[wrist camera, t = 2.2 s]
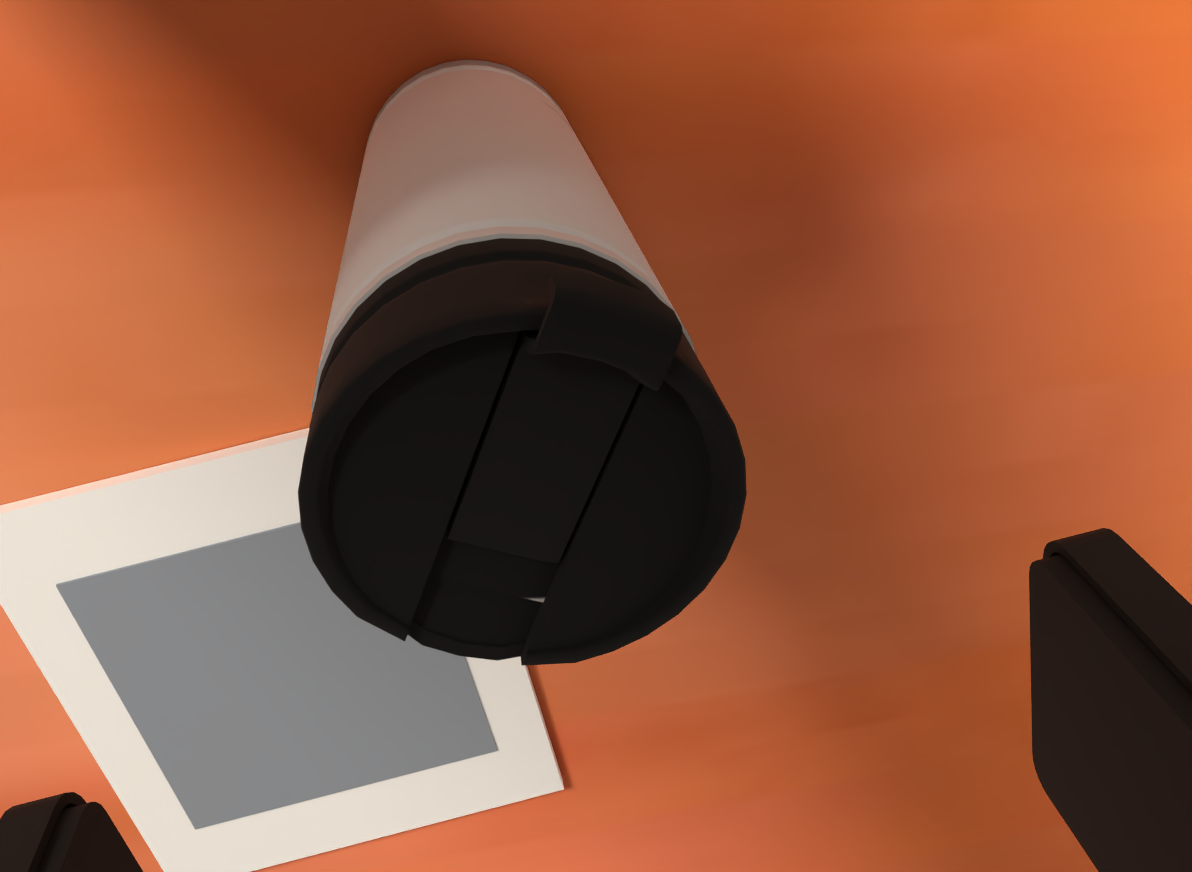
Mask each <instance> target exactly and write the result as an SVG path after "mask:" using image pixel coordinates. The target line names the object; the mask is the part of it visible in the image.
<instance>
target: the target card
mask: <svg viewBox="0 0 1192 872" xmlns="http://www.w3.org/2000/svg"><path fill="white" fill-rule="evenodd" d="M308 433H309V428H306V429H302V430H298V431H294V432H290V433H286V434H282V435H278V436H274V437H270V438H266V439H262V440H258V441H254V442H250V443H246V444H242V445H238V446H234V447H230V448H226V449H222V450H218V451H214V452H210V453H206V454H202V455H198V456H195V457H191V458H187V459H183V460H179V461H175V462H171V463H167V464H163V465H159V466H155V467H151V468H147V469H143V470H139V471H135V472H131V473H127V474H123V475H119V476H115V477H111V478H107V479H103V480H99V481H95V482H91V483H87V484H84V485H80V486H76V487H72V488H68V489H64V490H60V491H56V492H52V493H48V494H44V495H40V496H36V497H32V498H28V499H24V500H20V501H16V502H12V503H8V504H4V505H0V604H1V606H2V607H3V609H4V611H5V612H6V614H7V616H8V617H9V619H10V620H11V622H12V624H13V625H14V627H15V629H16V630H17V632H18V634H19V635H20V637H21V638H22V640H23V642H24V643H25V645H26V647H27V648H28V650H29V652H30V653H31V655H32V656H33V658H34V660H35V661H36V663H37V665H38V666H39V668H40V670H41V671H42V673H43V674H44V676H45V678H46V679H47V681H48V683H49V684H50V686H51V688H52V689H53V691H54V693H55V694H56V696H57V697H58V699H59V701H60V702H61V704H62V706H63V707H64V709H65V711H66V712H67V714H68V715H69V717H70V719H71V720H72V722H73V724H74V725H75V727H76V729H77V730H78V732H79V733H80V735H81V737H82V738H83V740H84V742H85V743H86V745H87V747H88V748H89V750H90V751H91V753H92V755H93V756H94V758H95V760H96V761H97V763H98V765H99V766H100V768H101V769H102V771H103V773H104V774H105V776H106V778H107V779H108V781H109V783H110V784H111V786H112V788H113V789H114V791H115V792H116V794H117V796H118V797H119V799H120V801H121V802H122V804H123V806H124V807H125V809H126V810H127V812H128V814H129V815H130V817H131V819H132V820H133V822H134V824H135V825H136V827H137V828H138V830H139V832H140V833H141V835H142V837H143V838H144V840H145V842H146V843H147V845H148V846H149V848H150V850H151V851H152V853H153V855H154V856H155V858H156V860H157V861H158V863H159V864H160V866H161V868H162V869H163V871H164V872H251V871H254V870H258V869H262V868H266V867H270V866H274V865H277V864H281V863H285V862H289V861H293V860H296V859H300V858H304V857H308V856H312V855H316V854H319V853H323V852H327V851H331V850H335V849H338V848H342V847H346V846H350V845H354V844H358V843H361V842H365V841H369V840H373V839H377V838H380V837H384V836H388V835H392V834H396V833H400V832H403V831H407V830H411V829H415V828H419V827H422V826H426V825H430V824H434V823H438V822H442V821H445V820H449V819H453V818H457V817H461V816H464V815H468V814H472V813H476V812H480V811H484V810H487V809H491V808H495V807H499V806H503V805H506V804H510V803H514V802H518V801H522V800H526V799H529V798H533V797H537V796H541V795H545V794H548V793H552V792H556V791H560V790H564V785H563V779H562V775H561V772H560V769H559V766H558V763H557V759H556V756H555V753H554V750H553V747H552V744H551V740H550V737H549V734H548V731H547V728H546V725H545V721H544V718H543V715H542V712H541V709H540V706H539V702H538V699H537V696H536V693H535V690H534V687H533V683H532V680H531V677H530V674H529V671H528V667H527V665H521V656H520V657H515V658H509V659H504V660H498V661H496V660H488V659H480V658H472V657H464V656H458V655H454V654H451V653H447V652H444V651H440V650H437V649H433V648H430V647H426V646H423V645H421V644H420V643H418V642H417V641H416V640H414V639H413V638H412V637H410V636H409V635H407V637H406V640H405V641H403V640H401V639H399V638H397V637H395V636H393V635H391V634H389V633H387V632H385V631H383V630H381V629H379V628H378V627H376V626H374V625H372V624H370V623H368V622H366V621H364V620H362V619H360V618H358V617H357V616H356V615H355V614H354V613H353V612H352V611H351V610H350V609H349V608H348V607H347V606H346V605H345V604H344V603H343V602H342V601H341V600H340V599H339V598H338V597H337V596H336V595H335V594H334V593H333V592H332V591H331V589H330V588H329V586H328V585H327V583H326V581H325V580H324V578H323V577H322V575H321V574H320V572H319V570H318V569H317V567H316V566H315V564H314V562H313V561H312V558H311V555H310V552H309V549H308V546H307V544H306V541H305V538H304V535H303V532H302V529H301V523H300V511H299V500H298V488H299V482H300V476H301V469H302V463H303V457H304V452H305V447H306V443H307V438H308Z"/></svg>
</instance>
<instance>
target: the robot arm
mask: <svg viewBox="0 0 1192 872" xmlns="http://www.w3.org/2000/svg"><path fill="white" fill-rule="evenodd" d="M1029 590H1030V645H1031V700H1032V753H1033V761H1034V765H1035V769H1036V772H1037V775H1038V778H1039V780H1040V782H1041V784H1042V787H1043V788H1044V790H1045V792H1046V794H1047V795H1048V797H1049V798H1050V800H1051V801H1052V803H1053V804H1054V806H1055V807H1056V809H1057V810H1058V812H1059V813H1060V815H1061V816H1062V818H1063V819H1064V821H1065V822H1066V824H1067V825H1068V827H1069V828H1070V829H1071V831H1072V832H1073V834H1074V835H1075V837H1076V838H1077V840H1078V841H1079V843H1080V844H1081V846H1082V847H1083V849H1084V850H1085V852H1086V853H1087V855H1088V856H1089V858H1090V859H1091V861H1092V862H1093V864H1094V865H1095V867H1096V868H1097V870H1098V871H1099V872H1192V605H1191V604H1190V603H1189V602H1188V601H1187V600H1186V599H1185V598H1184V597H1183V596H1182V595H1180V594H1179V593H1178V592H1177V591H1176V590H1175V589H1174V588H1173V587H1172V586H1171V585H1170V584H1169V583H1168V582H1167V581H1166V580H1165V579H1164V578H1163V577H1162V576H1161V575H1160V574H1158V573H1157V572H1156V571H1155V570H1154V569H1153V568H1152V567H1151V566H1150V565H1149V564H1148V563H1147V562H1146V561H1145V560H1144V559H1143V558H1142V557H1141V556H1140V555H1139V554H1138V553H1136V552H1135V551H1134V550H1133V549H1132V548H1131V547H1130V546H1129V545H1128V544H1127V543H1126V542H1125V541H1124V540H1123V539H1122V538H1121V537H1120V536H1119V535H1117V534H1116V533H1115V532H1113V531H1112V530H1111V529H1106V528H1102V529H1098V530H1094V531H1090V532H1086V533H1082V534H1078V535H1074V536H1071V537H1067V538H1063V539H1059V540H1055V541H1051V542H1049V543H1048V544H1047V545H1046V547H1045V549H1044V554H1043V559H1041V560H1037V561H1034V562H1032V564H1031V566H1030V571H1029ZM0 872H143V871H142V869H141V867H140V866H139V864H138V863H137V861H136V859H135V858H134V856H133V854H132V853H131V851H130V849H129V848H128V846H127V845H126V843H125V841H124V840H123V838H122V836H121V835H120V833H119V832H118V830H117V828H116V827H115V825H114V823H113V822H112V820H111V818H110V817H109V815H108V814H107V812H106V810H105V809H104V808H103V807H102V805H101V804H99V803H97V802H90V803H86V802H85V800H84V799H83V798H82V797H81V796H80V795H78V794H76V793H74V792H70V793H63V794H60V795H56V796H52V797H48V798H44V799H40V800H36V801H32V802H28V803H24V804H20V805H16V806H13V807H11V808H10V809H8V810H7V811H5V813H4V814H3V816H2V817H1V819H0Z"/></svg>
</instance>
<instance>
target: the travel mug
mask: <svg viewBox="0 0 1192 872" xmlns="http://www.w3.org/2000/svg"><path fill="white" fill-rule="evenodd" d="M745 499H746V470H745V457H744V454H743V451H742V447H741V444H740V440H739V437H738V434H737V430H736V427H735V424H734V422H733V421H732V419H731V417H730V415H729V414H728V412H727V410H726V408H725V406H724V405H723V403H722V401H721V399H720V397H719V396H718V394H717V392H716V390H715V388H714V386H713V385H712V383H711V381H710V379H709V377H708V376H707V374H706V372H705V370H704V368H703V367H702V365H701V363H700V361H699V360H698V358H697V355H696V352H695V349H694V346H693V343H692V339H691V338H690V336H689V334H688V332H687V331H686V329H685V327H684V325H683V324H682V322H681V320H680V318H679V317H678V315H677V313H676V311H675V309H674V308H673V306H672V304H671V302H670V301H669V299H668V297H667V295H666V294H665V292H664V290H663V288H662V286H661V285H660V283H659V281H658V279H657V278H656V276H655V274H654V272H653V271H652V269H651V267H650V265H649V263H648V262H647V260H646V258H645V256H644V255H643V253H642V251H641V249H640V248H639V246H638V244H637V242H636V241H635V239H634V237H633V235H632V233H631V232H630V230H629V228H628V226H627V225H626V223H625V221H624V219H623V218H622V216H621V214H620V212H619V210H618V209H617V207H616V205H615V203H614V202H613V200H612V198H611V196H610V195H609V193H608V191H607V189H606V187H605V186H604V184H603V182H602V180H601V179H600V177H599V175H598V173H597V172H596V170H595V168H594V166H593V165H592V163H591V161H590V159H589V157H588V156H587V154H586V152H585V150H584V149H583V147H582V145H581V143H580V142H579V140H578V138H577V136H576V135H575V133H574V131H573V129H572V127H571V126H570V124H569V122H568V120H567V119H566V117H565V115H564V113H563V112H562V110H561V108H560V107H559V105H558V104H557V103H556V102H555V100H554V99H553V98H552V97H551V96H550V95H549V94H548V92H547V91H546V90H545V89H544V88H543V87H541V86H540V85H539V84H537V83H536V82H535V81H533V80H532V79H531V78H530V77H528V76H527V75H525V74H523V73H521V72H519V71H516V70H514V69H512V68H510V67H508V66H505V65H501V64H497V63H494V62H490V61H484V60H458V61H451V62H445V63H441V64H438V65H436V66H433V67H430V68H428V69H425V70H423V71H421V72H419V73H418V74H416V75H415V76H413V77H411V78H410V79H408V80H407V81H405V82H404V83H403V84H402V85H401V86H400V87H399V88H398V89H397V90H396V91H395V92H394V93H393V94H392V95H391V96H390V97H389V98H388V99H387V101H386V102H385V104H384V105H383V107H382V108H381V110H380V111H379V113H378V114H377V116H376V118H375V121H374V124H373V126H372V129H371V131H370V134H369V137H368V141H367V146H366V151H365V155H364V160H363V164H362V169H361V174H360V178H359V183H358V187H357V192H356V197H355V201H354V206H353V211H352V215H351V220H350V224H349V229H348V234H347V238H346V243H345V247H344V252H343V257H342V261H341V266H340V270H339V275H338V280H337V284H336V289H335V293H334V298H333V303H332V307H331V312H330V316H329V321H328V326H327V330H326V335H325V339H324V344H323V349H322V354H321V360H320V362H319V367H318V372H317V378H316V384H315V390H314V396H313V402H312V419H311V424H310V428H309V433H308V438H307V443H306V447H305V452H304V457H303V463H302V469H301V476H300V482H299V488H298V500H299V511H300V523H301V529H302V532H303V535H304V538H305V541H306V544H307V546H308V549H309V552H310V555H311V558H312V561H313V562H314V564H315V566H316V567H317V569H318V570H319V572H320V574H321V575H322V577H323V578H324V580H325V581H326V583H327V585H328V586H329V588H330V589H331V591H332V592H333V593H334V594H335V595H336V596H337V597H338V598H339V599H340V600H341V601H342V602H343V603H344V604H345V605H346V606H347V607H348V608H349V609H350V610H351V611H352V612H353V613H354V614H355V615H356V616H357V617H358V618H360V619H362V620H364V621H366V622H368V623H370V624H372V625H374V626H376V627H378V628H379V629H381V630H383V631H385V632H387V633H389V634H391V635H393V636H395V637H397V638H399V639H401V640H403V641H405V640H406V637H407V635H409V636H410V637H412V638H413V639H414V640H416V641H417V642H418V643H420V644H421V645H423V646H426V647H430V648H433V649H437V650H440V651H444V652H447V653H451V654H454V655H458V656H464V657H472V658H480V659H488V660H496V661H498V660H504V659H509V658H515V657H520V656H521V665H541V664H559V663H576V662H579V661H583V660H586V659H589V658H593V657H596V656H599V655H602V654H606V653H609V652H612V651H615V650H617V649H619V648H621V647H623V646H625V645H627V644H629V643H632V642H634V641H636V640H638V639H640V638H642V637H644V636H646V635H648V634H650V633H651V632H653V631H654V630H656V629H657V628H659V627H660V626H661V625H663V624H664V623H666V622H667V621H669V620H670V619H672V618H673V617H675V616H676V615H678V614H679V613H680V612H681V611H682V610H683V609H684V608H685V607H686V606H687V605H688V604H689V603H690V602H691V601H692V600H694V599H695V598H696V597H697V596H698V595H699V594H700V593H701V592H702V591H703V590H704V589H705V588H706V586H707V585H708V583H709V582H710V581H711V579H712V578H713V576H714V575H715V574H716V572H717V571H718V570H719V568H720V567H721V565H722V564H723V563H724V561H725V560H726V558H727V555H728V553H729V551H730V549H731V546H732V544H733V542H734V540H735V537H736V535H737V533H738V531H739V528H740V524H741V519H742V514H743V509H744V504H745Z"/></svg>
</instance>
